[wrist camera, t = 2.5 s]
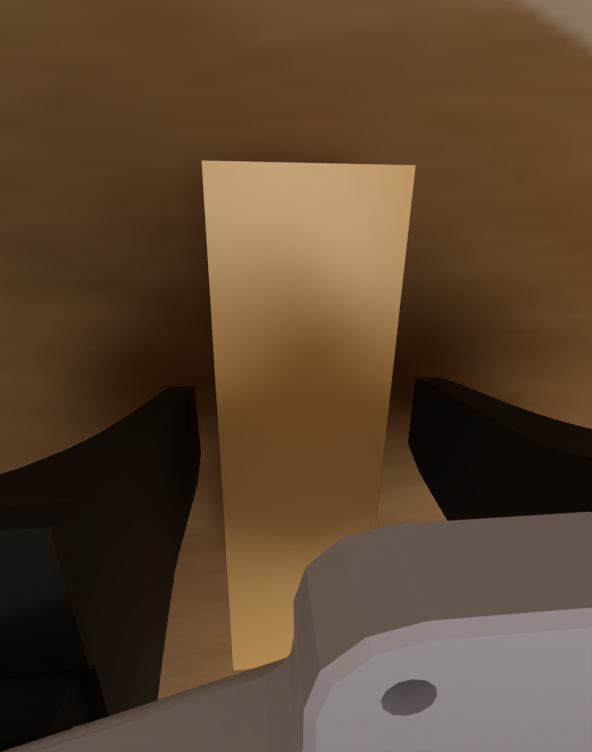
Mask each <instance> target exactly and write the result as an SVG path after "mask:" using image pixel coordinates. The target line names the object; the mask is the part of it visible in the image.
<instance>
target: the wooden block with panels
mask: <svg viewBox="0 0 592 752" xmlns="http://www.w3.org/2000/svg"><path fill="white" fill-rule="evenodd" d="M202 173H203V189H204V206H205V222H206V238H207V254H208V270H209V286H210V302H211V318H212V334H213V350H214V366H215V382H216V398H217V414H218V430H219V446H220V462H221V478H222V494H223V510H224V526H225V542H226V558H227V574H228V590H229V606H230V622H231V638H232V654H233V670H243V669H253V668H256V667H259V666H262V665H265V664H269V663H272V662H275V661H278V660H281V659H284V658H286V657H287V656H289V654H290V652H291V648H292V643H293V637H294V608H293V601H294V598H295V595H296V593H297V590H298V587H299V584H300V581H301V579H302V576H303V573H304V570H305V567H306V566H307V565H308V564H310V563H311V562H312V561H313V560H314V559H316V558H317V557H318V556H319V555H321V554H322V553H323V552H324V551H325V550H327V549H328V548H329V547H330V546H332V545H333V544H334V543H335V542H336V541H338V540H339V539H340V538H342V537H345V536H349V535H352V534H356V533H360V532H363V531H367V530H371V529H374V528H376V519H377V510H378V501H379V492H380V483H381V473H382V464H383V455H384V446H385V437H386V428H387V419H388V410H389V401H390V392H391V383H392V374H393V365H394V356H395V347H396V338H397V329H398V319H399V310H400V301H401V292H402V283H403V274H404V265H405V256H406V247H407V238H408V229H409V220H410V211H411V202H412V193H413V184H414V174H415V165H375V164H330V163H285V162H241V161H202Z"/></svg>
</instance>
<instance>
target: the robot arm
mask: <svg viewBox="0 0 592 752" xmlns="http://www.w3.org/2000/svg"><path fill="white" fill-rule="evenodd" d="M408 444H409V447H410V450H411V452H412V455H413V458H414V460H415V463H416V465H417V468H418V470H419V472H420V474H421V476H422V478H423V480H424V481H425V483H426V485H427V486H428V488H429V490H430V492H431V493H432V495H433V497H434V499H435V500H436V502H437V504H438V505H439V507H440V509H441V510H442V512H443V514H444V515H445V517H446V519H447V521H438V522H422V523H406V524H391V525H385V526H382V527H378V528H374V529H371V530H367V531H363V532H360V533H356V534H352V535H349V536H345V537H342V538H340V539H339V540H338V541H336V542H335V543H334V544H333V545H332V546H330V547H329V548H328V549H327V550H325V551H324V552H323V553H322V554H321V555H319V556H318V557H317V558H316V559H314V560H313V561H312V562H311V563H310V564H308V565H307V566H306V567H305V570H304V573H303V576H302V579H301V581H300V584H299V587H298V590H297V593H296V595H295V598H294V601H293V608H294V637H293V643H292V648H291V652H290V654H289V656H287V657H286V658H284V659H281V660H278V661H275V662H272V663H269V664H265V665H262V666H259V667H256V668H253V669H250V670H247V671H244V672H241V673H238V674H235V675H232V676H229V677H226V678H223V679H220V680H217V681H214V682H211V683H208V684H205V685H202V686H199V687H196V688H193V689H190V690H187V691H184V692H181V693H178V694H175V695H172V696H169V697H166V698H163V699H160V700H157V699H158V691H159V683H160V675H161V667H162V659H163V651H164V643H165V636H166V629H167V622H168V614H169V607H170V601H171V594H172V588H173V581H174V574H175V569H176V564H177V560H178V555H179V551H180V548H181V544H182V540H183V536H184V533H185V529H186V525H187V521H188V518H189V514H190V510H191V506H192V503H193V499H194V495H195V491H196V487H197V483H198V475H199V466H200V457H201V449H200V439H199V429H198V419H197V409H196V399H195V390H194V386H189V387H170V388H168V389H166V390H164V391H163V392H161V393H160V394H158V395H157V396H156V397H154V398H153V399H151V400H150V401H148V402H147V403H146V404H144V405H143V406H141V407H140V408H138V409H137V410H135V411H134V412H132V413H131V414H130V415H128V416H126V417H125V418H123V419H121V420H120V421H118V422H117V423H115V424H113V425H112V426H110V427H108V428H107V429H105V430H104V431H102V432H100V433H98V434H97V435H95V436H93V437H91V438H89V439H87V440H85V441H83V442H81V443H79V444H77V445H75V446H73V447H71V448H69V449H66V450H64V451H62V452H60V453H57V454H54V455H52V456H49V457H47V458H44V459H42V460H39V461H37V462H34V463H31V464H29V465H26V466H24V467H21V468H18V469H15V470H12V471H9V472H6V473H3V474H0V752H592V429H589V428H585V427H581V426H577V425H573V424H570V423H566V422H563V421H559V420H555V419H552V418H549V417H546V416H542V415H539V414H536V413H533V412H531V411H528V410H525V409H522V408H519V407H516V406H514V405H511V404H508V403H506V402H503V401H501V400H498V399H495V398H493V397H490V396H488V395H485V394H483V393H481V392H478V391H476V390H473V389H471V388H468V387H466V386H463V385H460V384H458V383H455V382H452V381H449V380H446V379H442V378H416V379H415V387H414V396H413V405H412V413H411V422H410V430H409V439H408Z"/></svg>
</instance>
